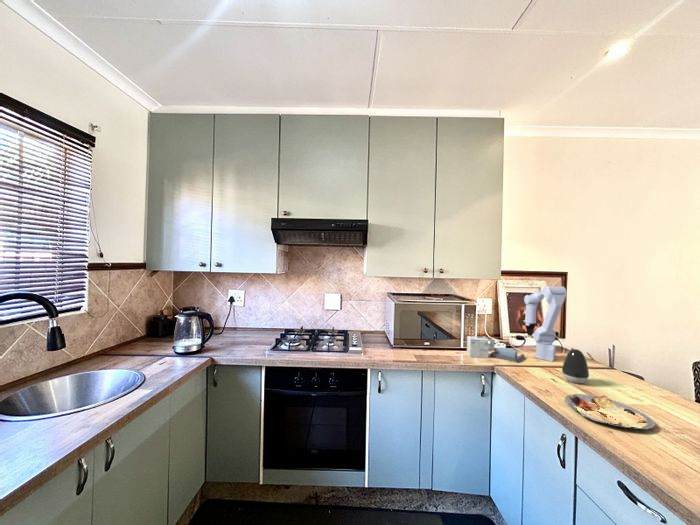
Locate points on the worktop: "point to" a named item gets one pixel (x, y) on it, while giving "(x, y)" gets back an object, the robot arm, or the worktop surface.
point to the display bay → (496, 355)
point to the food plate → (604, 407)
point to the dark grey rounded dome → (575, 367)
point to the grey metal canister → (491, 344)
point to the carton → (507, 352)
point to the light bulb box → (477, 347)
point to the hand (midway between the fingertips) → (529, 335)
